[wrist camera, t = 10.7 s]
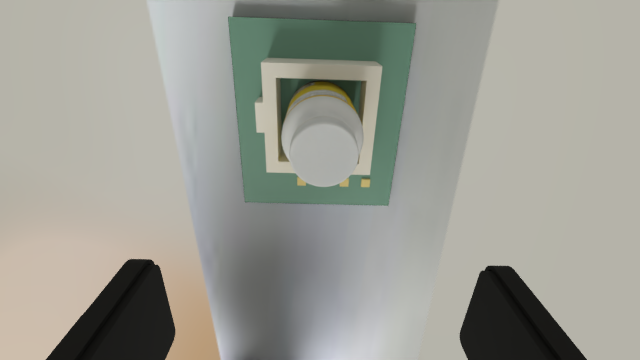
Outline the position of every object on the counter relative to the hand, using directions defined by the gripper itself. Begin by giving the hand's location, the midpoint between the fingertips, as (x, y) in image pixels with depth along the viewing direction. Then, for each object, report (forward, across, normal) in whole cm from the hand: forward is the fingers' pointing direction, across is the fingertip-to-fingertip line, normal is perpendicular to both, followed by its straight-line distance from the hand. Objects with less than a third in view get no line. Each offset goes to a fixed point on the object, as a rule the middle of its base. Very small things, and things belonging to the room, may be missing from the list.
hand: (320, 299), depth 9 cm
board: (+21, 0, 0) cm, 21 cm away
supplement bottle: (+20, 0, -1) cm, 20 cm away
